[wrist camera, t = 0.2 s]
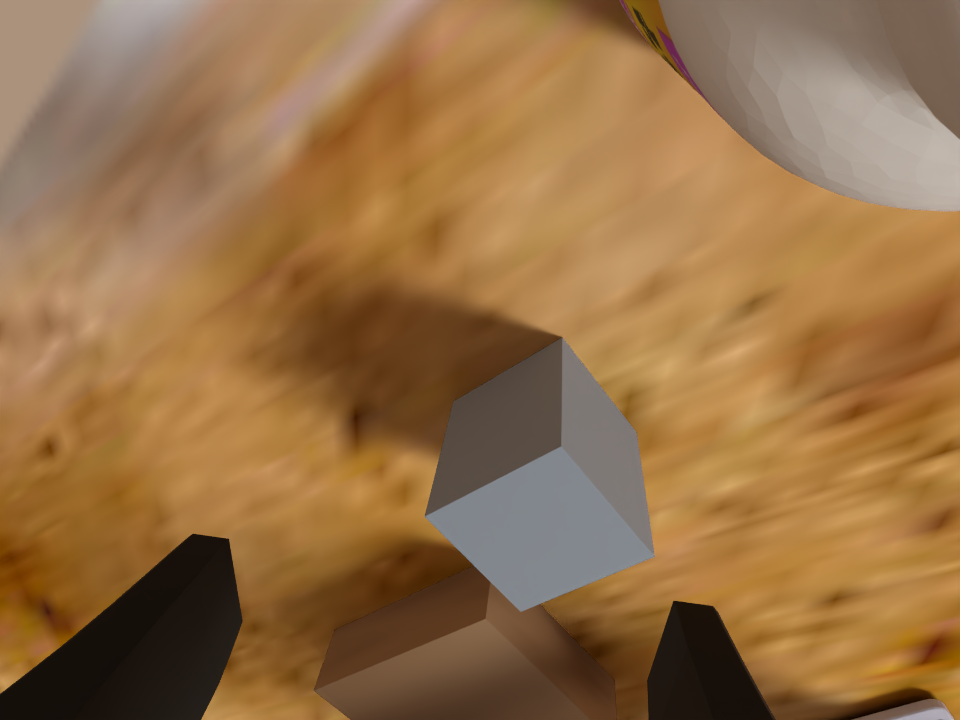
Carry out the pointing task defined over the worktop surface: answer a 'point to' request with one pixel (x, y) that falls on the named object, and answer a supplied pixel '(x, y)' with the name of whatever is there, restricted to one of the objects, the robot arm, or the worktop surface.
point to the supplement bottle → (828, 87)
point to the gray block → (541, 480)
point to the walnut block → (462, 661)
